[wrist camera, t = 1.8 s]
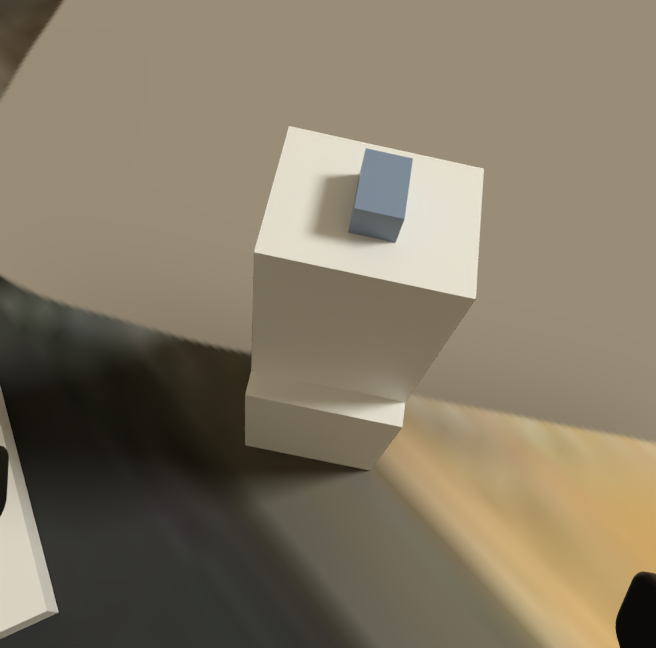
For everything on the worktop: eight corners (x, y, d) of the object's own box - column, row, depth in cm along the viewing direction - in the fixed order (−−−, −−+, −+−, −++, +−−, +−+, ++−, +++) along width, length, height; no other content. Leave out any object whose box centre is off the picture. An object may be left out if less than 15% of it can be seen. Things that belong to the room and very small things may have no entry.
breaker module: (369, 470, 21) (488, 311, 11) (245, 445, 21) (245, 260, 11) (386, 346, 24) (498, 118, 13) (274, 322, 24) (298, 74, 13)
